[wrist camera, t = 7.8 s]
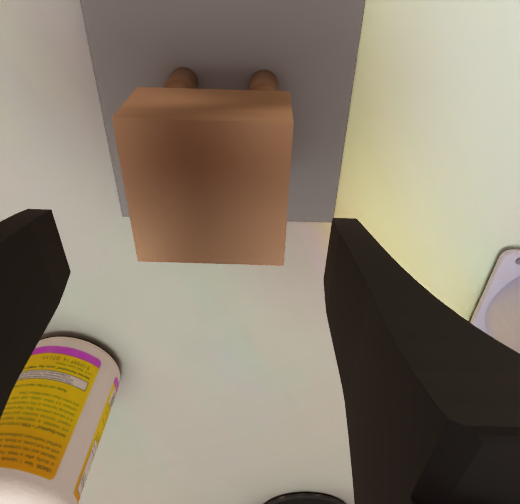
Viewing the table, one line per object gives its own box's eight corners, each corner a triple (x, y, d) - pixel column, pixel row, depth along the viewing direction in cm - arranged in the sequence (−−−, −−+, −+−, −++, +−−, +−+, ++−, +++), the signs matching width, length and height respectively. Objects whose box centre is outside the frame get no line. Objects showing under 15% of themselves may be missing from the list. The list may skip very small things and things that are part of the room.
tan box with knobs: (286, 62, 18) (293, 123, 12) (279, 176, 21) (283, 265, 15) (160, 58, 18) (111, 117, 12) (172, 172, 21) (137, 261, 15)
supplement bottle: (6, 340, 29) (-142, 566, 19) (93, 324, 28) (-18, 557, 18) (61, 397, 33) (-38, 610, 23) (139, 385, 32) (71, 606, 21)
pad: (367, -28, 16) (369, -28, 16) (331, 218, 23) (332, 222, 23) (76, -37, 16) (72, -36, 16) (124, 212, 23) (122, 216, 23)
